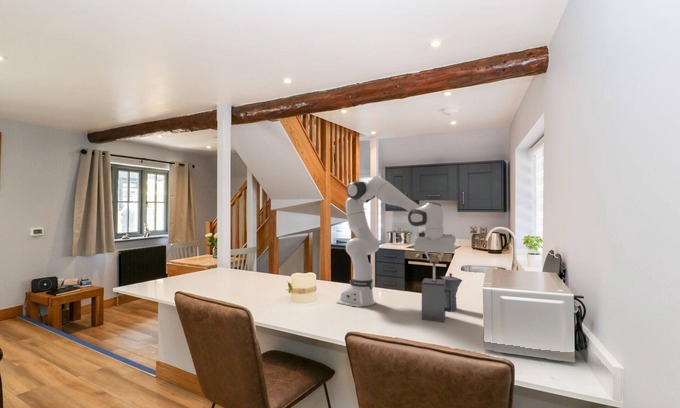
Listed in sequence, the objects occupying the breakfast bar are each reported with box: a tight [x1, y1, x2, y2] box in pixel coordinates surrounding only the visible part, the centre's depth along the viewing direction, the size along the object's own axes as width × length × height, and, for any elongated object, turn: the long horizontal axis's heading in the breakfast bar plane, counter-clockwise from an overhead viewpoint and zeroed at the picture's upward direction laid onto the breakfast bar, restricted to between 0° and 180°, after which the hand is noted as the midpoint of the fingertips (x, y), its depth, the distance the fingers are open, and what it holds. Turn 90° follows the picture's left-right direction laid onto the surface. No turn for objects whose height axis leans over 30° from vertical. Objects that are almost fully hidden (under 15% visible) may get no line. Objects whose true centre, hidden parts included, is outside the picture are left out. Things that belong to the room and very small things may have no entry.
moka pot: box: [435, 272, 463, 312], centre depth 198 cm, size 10×15×20 cm, turn 78°
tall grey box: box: [421, 277, 452, 323], centre depth 181 cm, size 14×11×19 cm
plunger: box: [429, 254, 439, 282], centre depth 181 cm, size 8×8×23 cm
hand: (434, 260), depth 181 cm, fingers closed on plunger, 4 cm apart
